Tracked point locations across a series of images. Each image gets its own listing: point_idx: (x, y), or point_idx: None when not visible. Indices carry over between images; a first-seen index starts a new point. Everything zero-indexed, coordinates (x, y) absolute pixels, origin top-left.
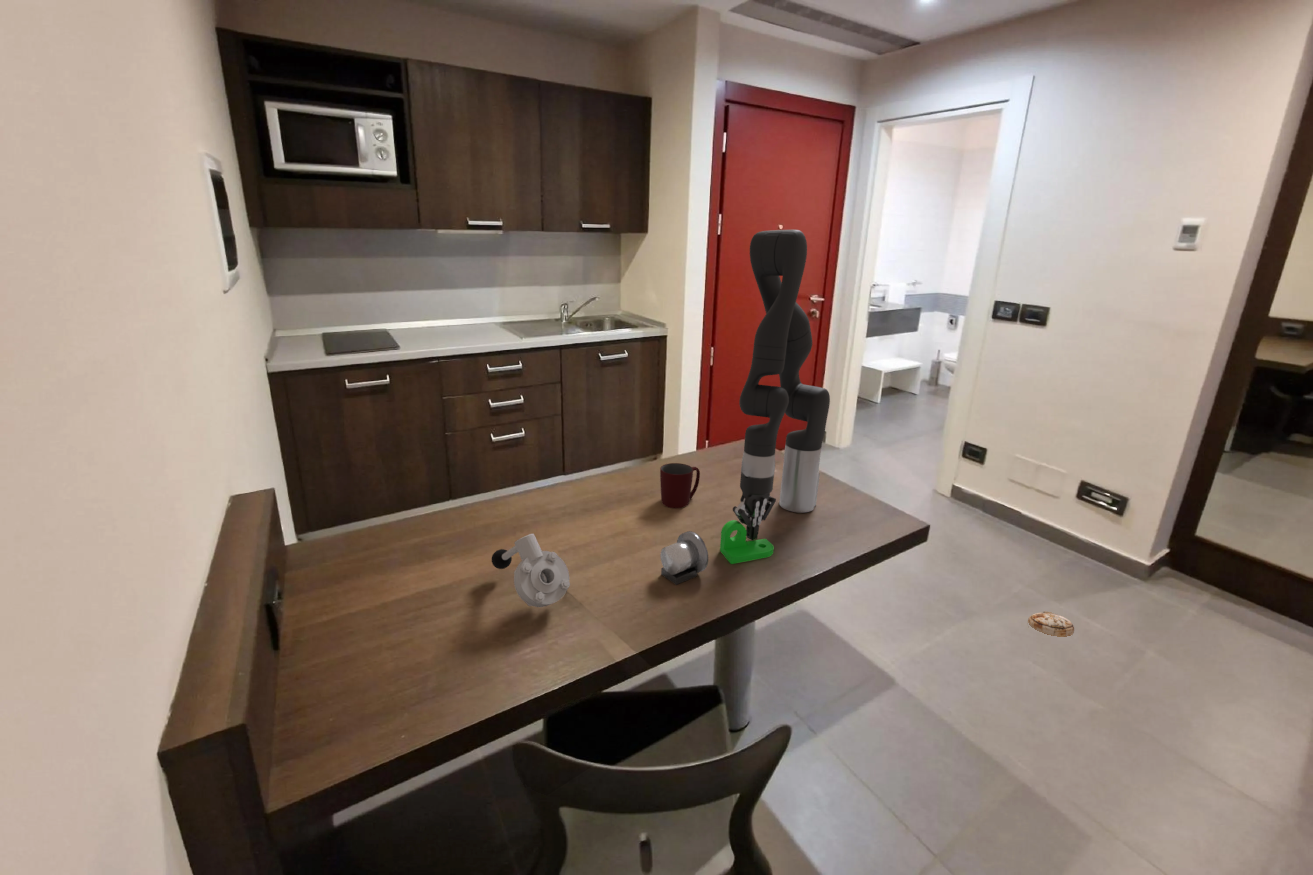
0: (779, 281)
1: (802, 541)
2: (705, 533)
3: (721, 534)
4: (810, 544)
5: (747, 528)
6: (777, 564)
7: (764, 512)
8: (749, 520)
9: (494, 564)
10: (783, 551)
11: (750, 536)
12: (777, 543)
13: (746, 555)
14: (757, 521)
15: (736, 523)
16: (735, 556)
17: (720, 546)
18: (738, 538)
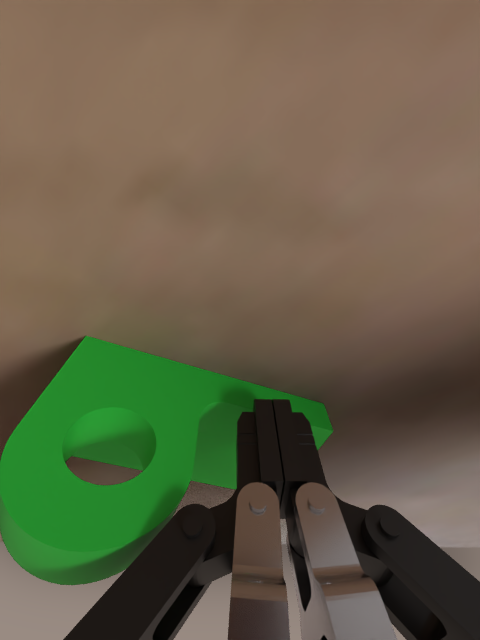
0: None
1: (459, 454)
2: (141, 93)
3: (22, 422)
4: (450, 475)
5: (237, 468)
6: (229, 490)
7: (395, 618)
8: (188, 606)
9: None
10: (328, 460)
11: (236, 447)
12: (375, 420)
13: (132, 466)
14: (289, 556)
15: (65, 580)
16: (76, 455)
17: (69, 358)
18: (140, 451)
